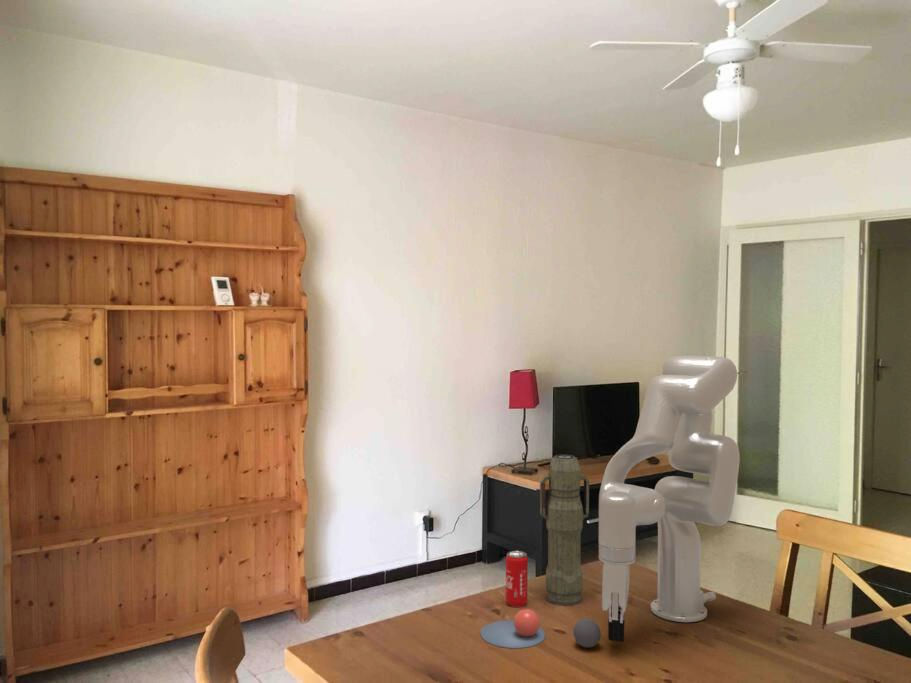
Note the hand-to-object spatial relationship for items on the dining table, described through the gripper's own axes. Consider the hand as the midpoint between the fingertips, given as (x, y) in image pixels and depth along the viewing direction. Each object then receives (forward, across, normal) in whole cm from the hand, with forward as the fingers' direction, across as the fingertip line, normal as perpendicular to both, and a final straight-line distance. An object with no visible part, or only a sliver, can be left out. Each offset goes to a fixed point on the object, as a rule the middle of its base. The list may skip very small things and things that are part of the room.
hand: (616, 639), depth 153 cm
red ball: (-1, 0, -19) cm, 19 cm away
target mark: (+2, 0, -22) cm, 22 cm away
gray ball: (-1, +2, -6) cm, 6 cm away
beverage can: (+2, -17, -25) cm, 30 cm away
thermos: (+2, -24, -14) cm, 27 cm away
